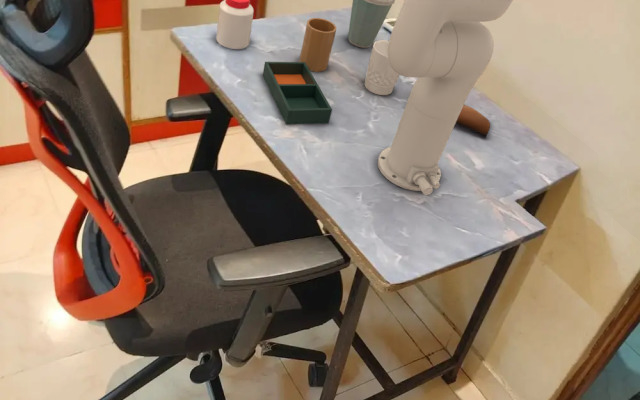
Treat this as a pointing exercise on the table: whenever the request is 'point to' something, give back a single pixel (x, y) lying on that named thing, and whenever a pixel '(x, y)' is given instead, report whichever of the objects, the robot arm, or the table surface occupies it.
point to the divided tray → (296, 93)
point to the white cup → (380, 70)
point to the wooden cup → (317, 44)
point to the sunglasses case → (473, 120)
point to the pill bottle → (234, 23)
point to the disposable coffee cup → (367, 20)
